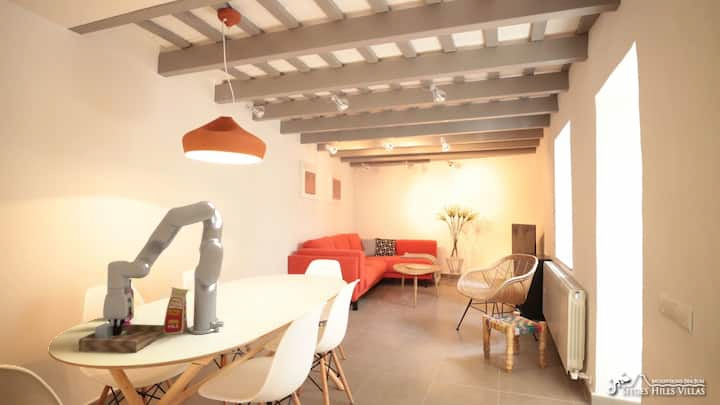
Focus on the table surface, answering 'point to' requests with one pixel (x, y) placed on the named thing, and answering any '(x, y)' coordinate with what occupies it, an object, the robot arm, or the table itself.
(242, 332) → the table surface
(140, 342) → the brown wooden tray
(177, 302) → the paper food bag
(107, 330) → the block
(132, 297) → the sauce bottle
